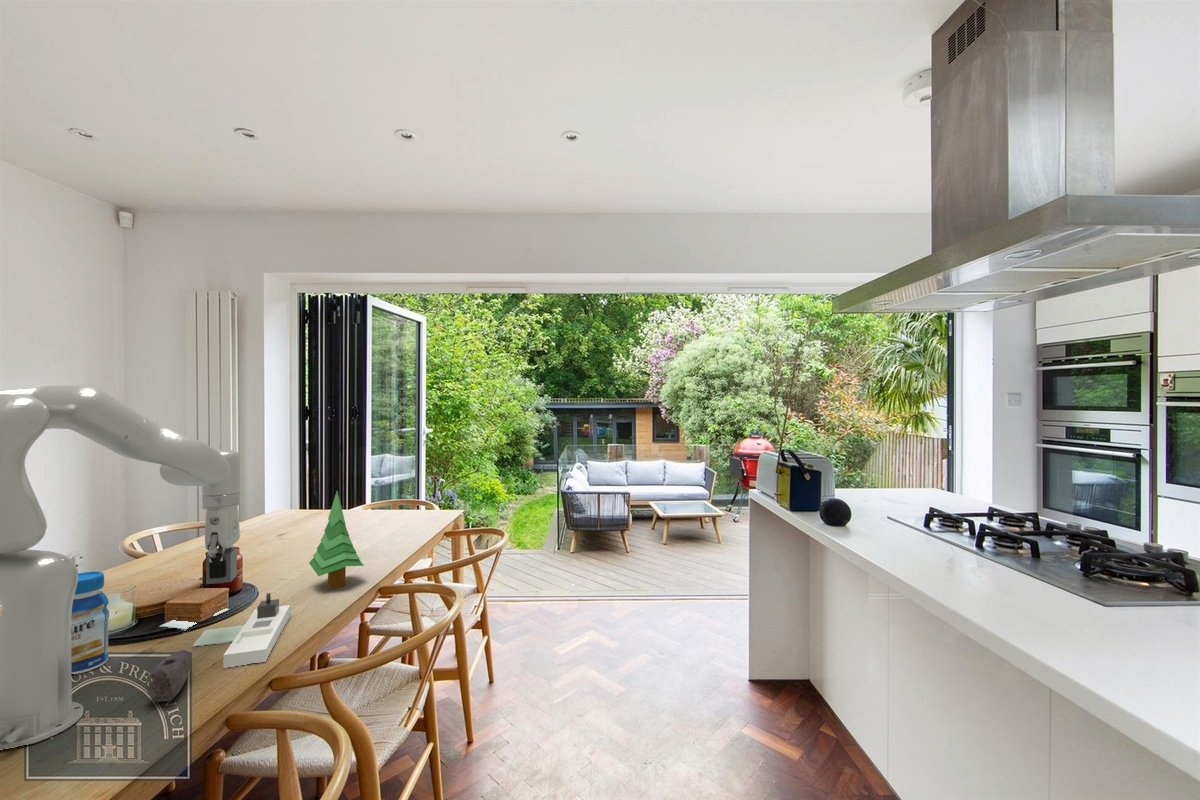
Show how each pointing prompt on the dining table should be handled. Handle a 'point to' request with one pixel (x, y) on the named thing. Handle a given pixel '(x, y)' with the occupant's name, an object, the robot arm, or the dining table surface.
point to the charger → (230, 567)
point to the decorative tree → (335, 549)
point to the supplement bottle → (89, 623)
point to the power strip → (258, 634)
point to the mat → (218, 636)
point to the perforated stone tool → (169, 676)
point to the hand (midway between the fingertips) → (221, 573)
